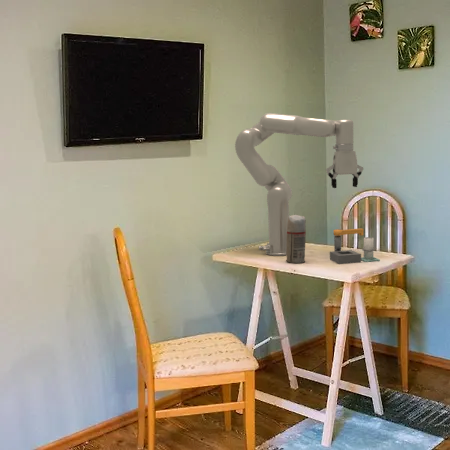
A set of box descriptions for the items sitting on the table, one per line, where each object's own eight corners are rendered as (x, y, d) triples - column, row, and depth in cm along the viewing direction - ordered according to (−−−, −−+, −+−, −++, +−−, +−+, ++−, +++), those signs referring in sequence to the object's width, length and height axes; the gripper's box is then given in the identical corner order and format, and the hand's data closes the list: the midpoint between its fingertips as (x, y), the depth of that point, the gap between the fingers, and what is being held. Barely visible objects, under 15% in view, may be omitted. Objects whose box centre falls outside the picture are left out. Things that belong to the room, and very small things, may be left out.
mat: (364, 262, 281) (364, 260, 281) (357, 259, 287) (357, 257, 287) (380, 261, 282) (380, 259, 282) (372, 257, 289) (372, 256, 289)
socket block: (338, 264, 279) (338, 255, 278) (329, 259, 288) (329, 251, 288) (361, 262, 281) (361, 254, 280) (351, 257, 290) (351, 250, 290)
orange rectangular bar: (335, 237, 289) (335, 230, 288) (332, 236, 292) (332, 229, 292) (364, 235, 293) (364, 228, 292) (360, 234, 296) (360, 227, 296)
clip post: (334, 258, 289) (334, 237, 288) (330, 256, 294) (330, 235, 293) (345, 258, 290) (345, 236, 289) (340, 256, 295) (340, 234, 294)
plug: (366, 260, 282) (366, 239, 280) (360, 258, 287) (360, 237, 285) (377, 259, 283) (377, 238, 282) (371, 257, 288) (371, 236, 287)
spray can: (304, 259, 290) (304, 214, 287) (307, 263, 282) (306, 216, 279) (285, 260, 290) (284, 214, 287) (287, 263, 282) (286, 217, 279)
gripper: (329, 149, 285) (329, 189, 287) (366, 147, 289) (366, 187, 291) (322, 148, 292) (323, 187, 294) (359, 147, 296) (359, 185, 298)
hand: (344, 187), depth 293 cm, fingers open, 9 cm apart
